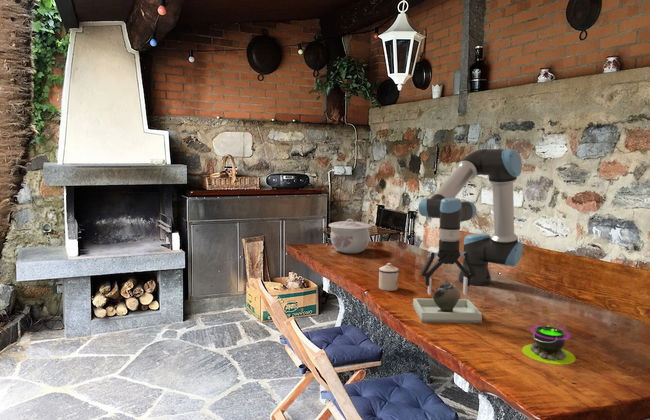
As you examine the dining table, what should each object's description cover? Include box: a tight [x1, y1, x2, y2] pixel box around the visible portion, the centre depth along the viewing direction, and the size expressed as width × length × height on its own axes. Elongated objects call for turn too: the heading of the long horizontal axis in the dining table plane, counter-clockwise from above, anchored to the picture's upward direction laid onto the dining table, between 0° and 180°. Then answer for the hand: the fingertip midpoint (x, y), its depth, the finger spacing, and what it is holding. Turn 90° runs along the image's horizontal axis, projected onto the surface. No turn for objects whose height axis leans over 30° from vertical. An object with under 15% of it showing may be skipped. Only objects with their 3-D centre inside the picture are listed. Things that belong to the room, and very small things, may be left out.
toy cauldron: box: [521, 317, 576, 366], centre depth 144 cm, size 15×15×11 cm
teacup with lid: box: [378, 262, 400, 292], centre depth 214 cm, size 12×9×12 cm
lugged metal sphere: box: [432, 279, 461, 312], centre depth 178 cm, size 10×12×10 cm
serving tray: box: [412, 297, 483, 324], centre depth 179 cm, size 22×17×4 cm
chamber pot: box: [328, 218, 373, 255], centre depth 291 cm, size 28×28×21 cm
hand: (447, 294), depth 178 cm, fingers open, 13 cm apart
